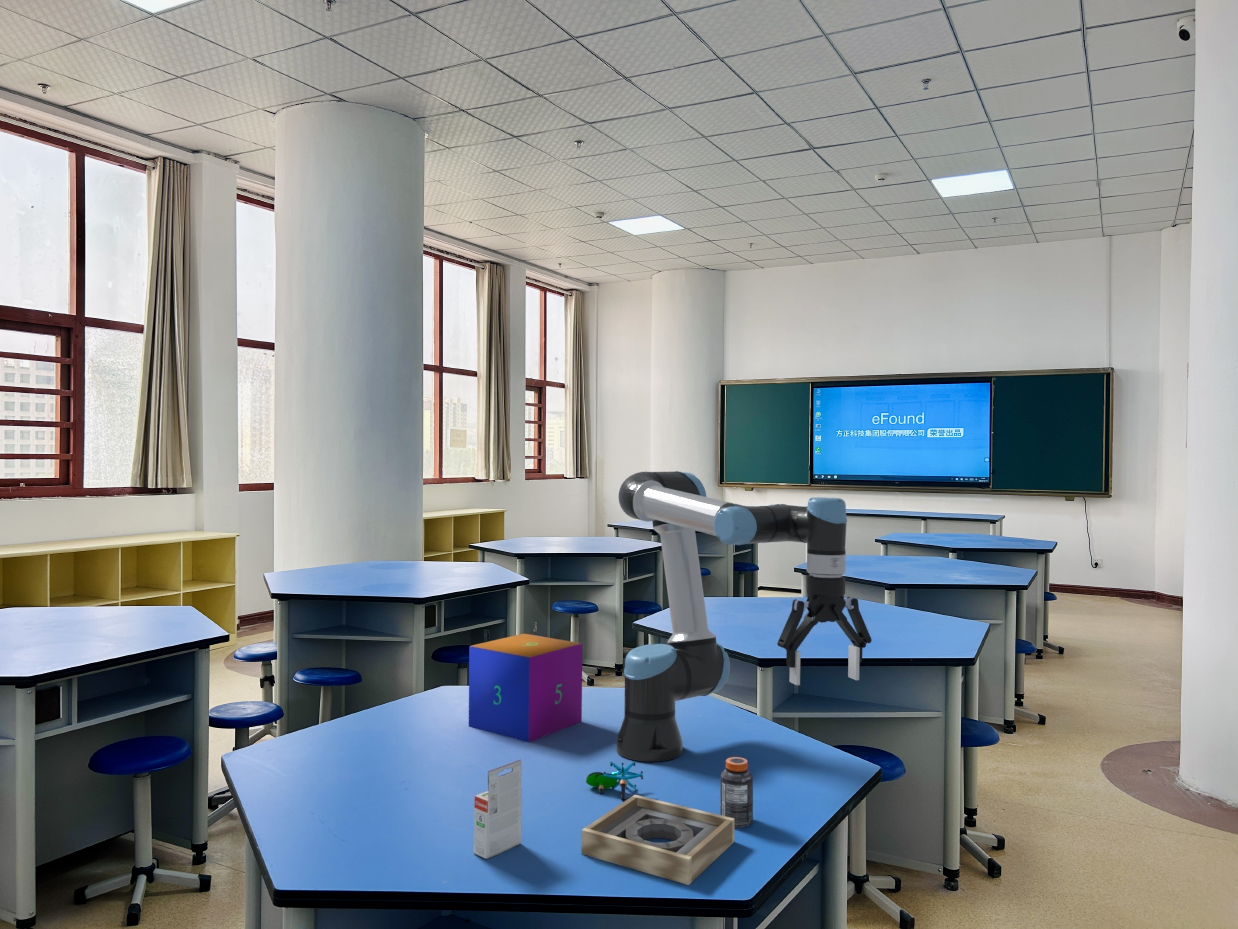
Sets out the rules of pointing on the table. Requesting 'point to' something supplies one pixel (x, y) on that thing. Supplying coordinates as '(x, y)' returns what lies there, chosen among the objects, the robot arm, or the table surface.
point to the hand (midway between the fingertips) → (824, 681)
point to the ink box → (499, 812)
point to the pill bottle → (737, 792)
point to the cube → (525, 686)
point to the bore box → (648, 818)
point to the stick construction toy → (613, 779)
